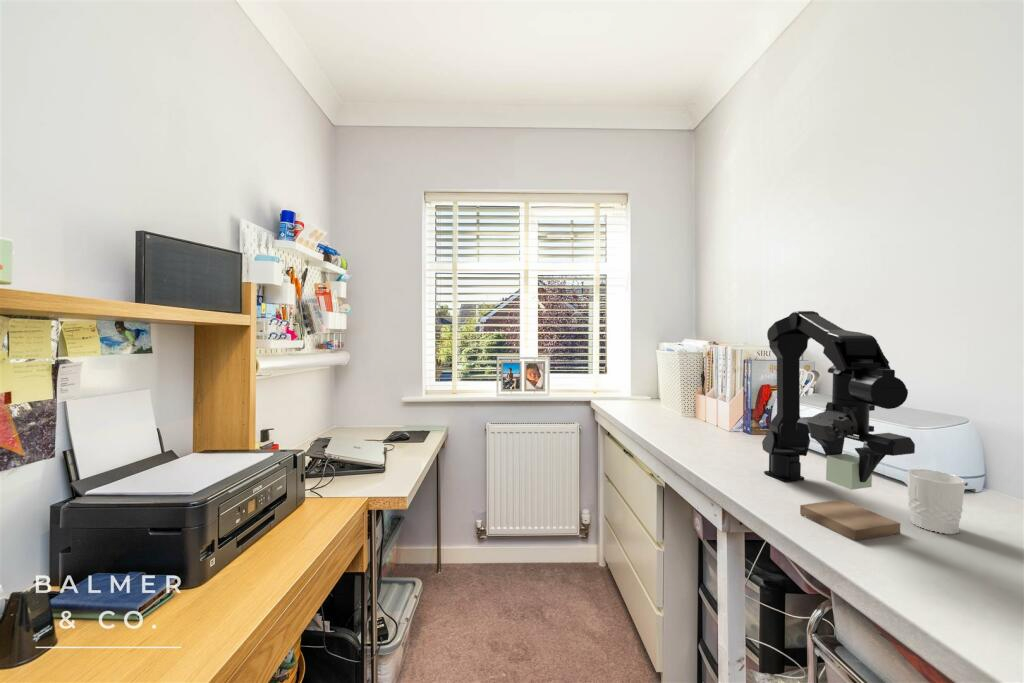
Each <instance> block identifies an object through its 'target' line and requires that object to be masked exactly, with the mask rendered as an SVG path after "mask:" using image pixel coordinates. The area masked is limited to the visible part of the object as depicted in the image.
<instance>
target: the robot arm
mask: <svg viewBox="0 0 1024 683" xmlns="http://www.w3.org/2000/svg"><path fill="white" fill-rule="evenodd" d="M766 332H767V334H766V335H767V336H766V337H767V340H768V346H769V350H770V351H771V352H772V353H773V354H774V356H775V357H776V414H775V416H774V417H773V418H772V419H771V421H770V423H769V428H768V429H769V430H768V432H767V433H766V435H765V437H764V438H763V439H762V441H761V444H762V451H764V452H766V453H767V454H768V470H764V471H763V473H764V474H765V475H767V476H771V477H772V478H775V479H778V480H779V481H783V482H792V481H800V480H802V481H803V480H805V477H804V476H802V474H801V473H802V472H801V470H802V468H801V467H802V466H801V465H802V463H801V462H800V458H801V457H802V456H803V457H807V455H808V450H809V447H810V443H811V439H813V440H815V441H816V442H817V443H818V444H820V446H821V448H822V450H823V452H824V454H825V457H826V458H827V456H829V455H838V454H843V451H844V450H843V449H844V446H845V444H844V443H845V439H848V440H852V441H856V442H861V443H863V447H855V448H854V450H855V452H856V453H857V454H858V456H859V479H860V482H866V481H867V479H868V478H869V477H870V475H871V474H872V475H873V472H874V471H875V469H876V468H877V467H878V465H879V464H880V462H881V461H882V460H883V459H884V458H885V457H886V456H893V457H894V456H904V455H913V454H915V452H916V450H915V448H916V444H915V442H914V441H913V439H912V438H911V437H909V436H905V435H901V434H900V435H899V434H896V433H892V432H884V433H883V432H881V433H873V434H872V432H875V426H874V425H870V411H875V410H876V408H875V407H878V408H881V409H886V410H892V409H896V408H898V407H900V406H902V405H903V404H904V403H905V402H906V400H907V399H908V394H909V390H908V388H907V386H906V384H905V383H904V381H902V379H901V378H898V377H896V370H895V369H891V366H890V362H889V360H888V359H887V358H886V356H885V354H884V352H883V350H882V349H881V346H880V345H879V343H878V340H877V339H876V337H874V336H873V335H871V334H867V333H864V332H859V331H852V330H846V329H844V328H843V327H840V326H838V325H836V324H835V323H833V322H831V321H830V320H828V319H826V318H825V317H823V316H821V315H820V313H818V312H817V311H815V310H800V311H799V310H796V311H794V312H793V311H792V312H791V313H790V314H789V315H788V316H786V317H783V318H781V319H780V320H779V319H778V320H777V321H775V322H774V323H773V324H772V325H771V326H770V327H768V330H767V331H766ZM811 339H812V340H814V341H815V342H816V343H818V344H819V345H821V346H822V347H823V350H822V351H823V352H822V353H823V355H825V357H826V358H827V359H828V360H829V361H830V362H831V363H832V366H830V367H829V368H828V369H827V373H828V374H832V390H831V391H832V395H831V396H832V397H831V398H832V399H831V401H829V402H827V401H826V402H827V403H826V405H825V410H824V411H822V412H819V413H817V414H815V415H813V416H806V417H805V416H804V417H801V415H800V414H801V413H800V412H801V408H800V407H801V406H800V405H801V404H800V403H801V402H800V401H801V399H800V398H801V396H800V392H801V390H800V388H801V385H800V381H801V380H800V377H801V376H800V369H801V368H800V364H801V363H800V359H801V357H802V356H803V355H804V353H805V352H806V350H807V349H808V345H809V340H811ZM870 432H871V433H870ZM810 438H811V439H810ZM800 456H801V457H800Z"/></svg>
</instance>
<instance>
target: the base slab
mask: <svg viewBox="0 0 1024 683" xmlns="http://www.w3.org/2000/svg"><path fill="white" fill-rule="evenodd" d="M799 506H800V507H799V508H800V509H799V510H800V511H799V514H801V515H800V516H802V515H804V516H806V517H807V518H806V517H805V518H806V519H808V518H809V520H810V519H812V520H813V522H814V521H815V522H814V523H816V522H817V524H818V525H821V526H823V527H825V526H826V527H825V528H827V529H829V530H831V529H832V530H831V531H833V530H834V531H833V532H835V531H836V532H835V533H837V532H838V533H837V534H839V533H840V534H839V535H841V534H842V536H843V535H844V537H846V538H848V539H850V540H851V541H854V542H856V541H863V540H869V539H874V538H875V539H876V538H880V537H881V536H882V537H887V536H886V535H888V536H892V535H891V534H894V535H898V534H897V533H900V534H901V522H900V521H899V522H898V521H897V520H894V519H891V518H889V517H886V516H884V515H881V514H878V513H876V512H873V511H872V510H869V509H866V508H864V507H861V506H859V505H856V504H853V503H852V502H849V501H847V500H844V499H837V500H827V501H822V502H813V503H808V504H807V503H806V504H800V505H799ZM804 516H803V517H804ZM812 520H811V521H812ZM882 537H881V538H882Z"/></svg>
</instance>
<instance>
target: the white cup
mask: <svg viewBox="0 0 1024 683" xmlns="http://www.w3.org/2000/svg"><path fill="white" fill-rule="evenodd" d="M906 475H907V497H908V508H909V521H910V522H911V523H912V524H913V525H914V524H915V525H914V526H917V527H918V526H919V527H918V528H920V527H921V528H920V529H922V528H924V529H923V530H926V529H927V530H926V531H929V530H930V531H929V532H932V531H935V532H934V533H937V532H939V533H938V534H942V533H945V534H944V535H956V533H957V534H959V529H960V522H961V519H962V514H963V505H964V498H965V497H964V496H965V486H966V481H965V479H963V478H962V477H959V476H957V475H955V474H951V473H946V472H942V471H938V470H933V469H926V468H925V469H923V468H912V469H908V470H907V474H906Z"/></svg>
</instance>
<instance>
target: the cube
mask: <svg viewBox="0 0 1024 683" xmlns="http://www.w3.org/2000/svg"><path fill="white" fill-rule="evenodd" d="M825 467H826V470H825V471H826V472H825V480H826V481H827V482H830V483H832V484H836V485H838V486H841V487H843V488H846V489H849V490H859V489H867V488H872V484H873V483H872V482H873V473H872V474H871V475H870V477H869V478H868V479H867V481H866V482H860V479H859V457H858V456H856V455H851V454H848V453H842V454H838V455H829V456H827V457H826V466H825Z"/></svg>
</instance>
